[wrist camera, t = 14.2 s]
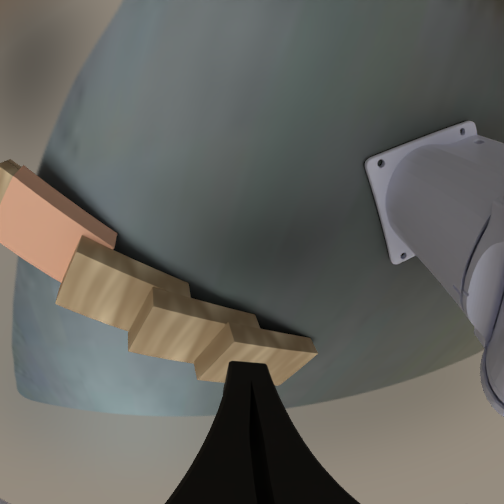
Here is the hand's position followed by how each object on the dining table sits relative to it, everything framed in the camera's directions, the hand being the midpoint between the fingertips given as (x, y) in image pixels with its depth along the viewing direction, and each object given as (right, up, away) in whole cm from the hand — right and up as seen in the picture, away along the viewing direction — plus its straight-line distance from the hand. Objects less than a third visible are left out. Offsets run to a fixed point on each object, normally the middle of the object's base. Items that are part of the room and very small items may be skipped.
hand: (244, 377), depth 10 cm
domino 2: (-1, -2, +11) cm, 12 cm away
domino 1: (+4, -4, +13) cm, 14 cm away
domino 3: (-5, 0, +10) cm, 11 cm away
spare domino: (-10, +4, +7) cm, 13 cm away
